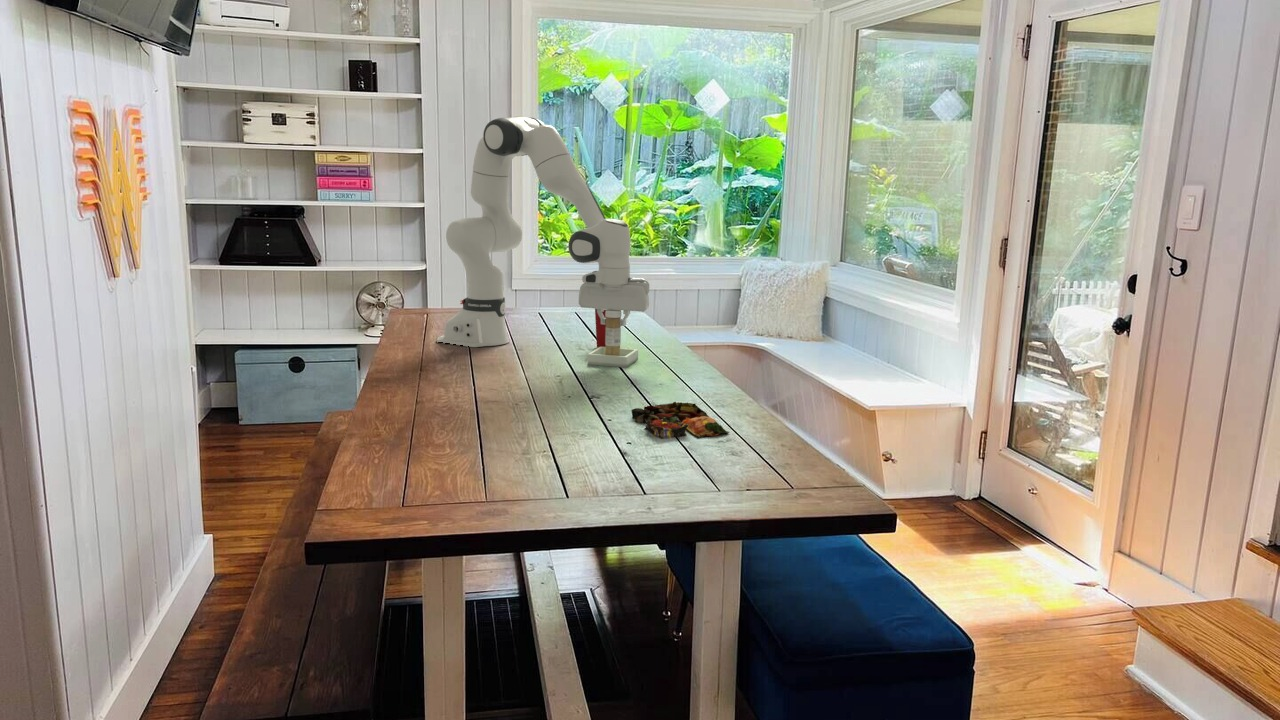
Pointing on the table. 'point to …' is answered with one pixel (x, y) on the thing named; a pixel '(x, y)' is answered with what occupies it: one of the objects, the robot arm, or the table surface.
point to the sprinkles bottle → (613, 332)
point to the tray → (613, 357)
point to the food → (677, 420)
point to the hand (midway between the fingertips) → (613, 324)
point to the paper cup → (600, 330)
